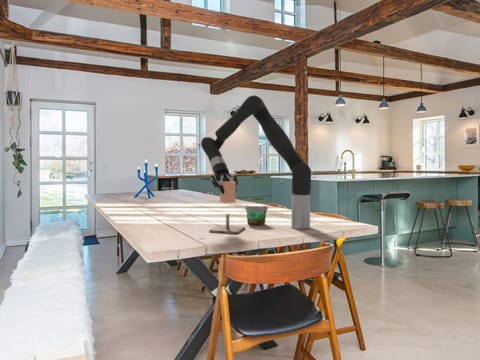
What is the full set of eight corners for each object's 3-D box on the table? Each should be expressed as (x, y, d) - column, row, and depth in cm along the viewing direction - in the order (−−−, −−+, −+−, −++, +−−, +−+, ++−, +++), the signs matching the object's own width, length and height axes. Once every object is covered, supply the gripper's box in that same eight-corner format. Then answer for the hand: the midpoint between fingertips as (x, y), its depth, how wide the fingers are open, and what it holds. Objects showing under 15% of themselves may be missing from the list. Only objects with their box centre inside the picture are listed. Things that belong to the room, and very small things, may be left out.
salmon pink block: (230, 201, 174) (230, 180, 173) (235, 202, 169) (235, 181, 168) (220, 201, 171) (220, 181, 171) (224, 202, 166) (225, 181, 166)
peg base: (245, 229, 175) (245, 212, 175) (237, 234, 163) (237, 216, 162) (218, 227, 179) (218, 211, 179) (209, 232, 167) (209, 215, 166)
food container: (242, 225, 185) (242, 206, 184) (245, 223, 191) (245, 205, 190) (265, 226, 182) (265, 207, 181) (267, 224, 188) (267, 205, 187)
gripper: (208, 162, 172) (218, 188, 162) (234, 162, 179) (245, 187, 169) (204, 172, 177) (213, 198, 167) (229, 172, 184) (240, 197, 174)
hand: (229, 192), depth 168 cm, fingers closed on salmon pink block, 5 cm apart
